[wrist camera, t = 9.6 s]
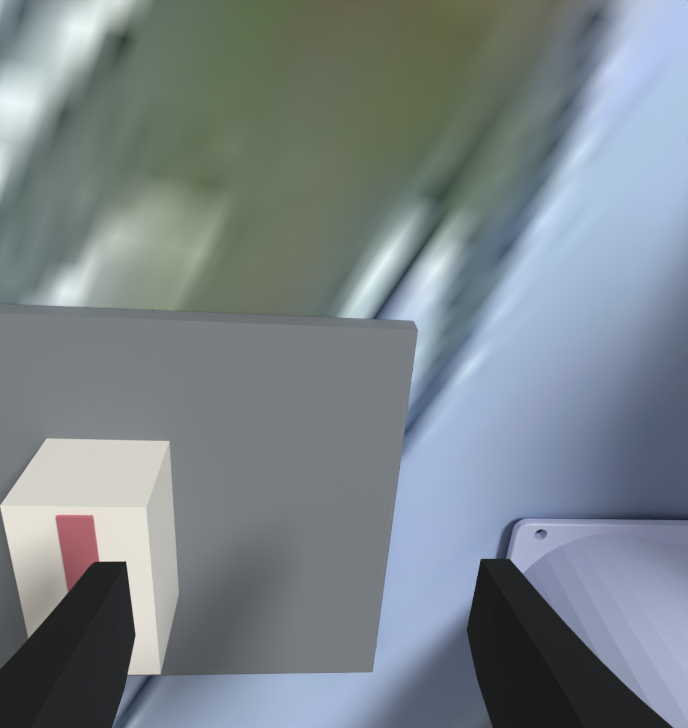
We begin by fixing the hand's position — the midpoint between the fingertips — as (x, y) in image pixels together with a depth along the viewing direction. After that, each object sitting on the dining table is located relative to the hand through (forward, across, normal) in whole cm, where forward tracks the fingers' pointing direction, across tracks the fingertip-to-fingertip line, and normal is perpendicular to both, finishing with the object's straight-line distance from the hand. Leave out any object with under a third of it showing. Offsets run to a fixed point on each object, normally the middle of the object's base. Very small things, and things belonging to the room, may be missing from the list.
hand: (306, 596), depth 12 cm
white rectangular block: (+9, +6, +5) cm, 12 cm away
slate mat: (+9, +6, +5) cm, 13 cm away
